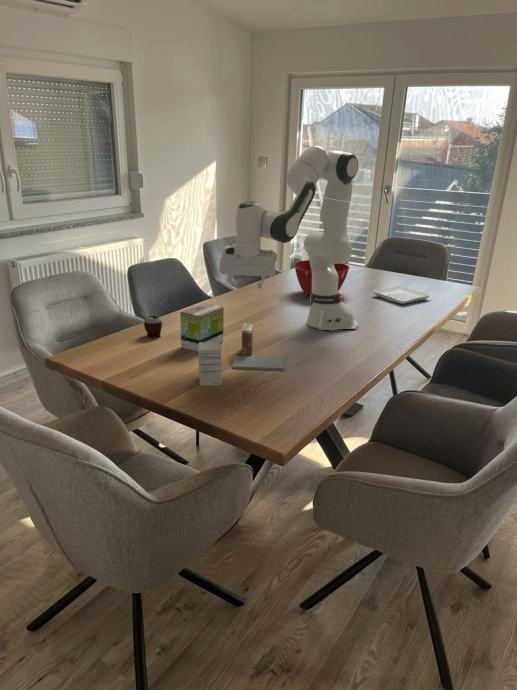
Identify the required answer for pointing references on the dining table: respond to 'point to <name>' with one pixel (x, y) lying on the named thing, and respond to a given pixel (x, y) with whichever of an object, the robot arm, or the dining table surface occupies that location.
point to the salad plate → (400, 289)
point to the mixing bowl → (305, 274)
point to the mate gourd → (153, 324)
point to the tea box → (201, 325)
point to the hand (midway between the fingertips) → (247, 287)
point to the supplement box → (210, 363)
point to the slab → (247, 339)
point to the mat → (258, 363)
